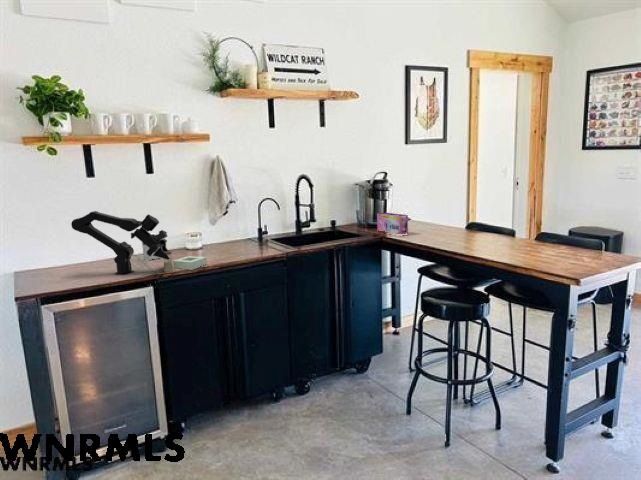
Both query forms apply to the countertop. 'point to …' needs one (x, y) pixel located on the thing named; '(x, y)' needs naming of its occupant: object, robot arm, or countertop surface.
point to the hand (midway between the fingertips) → (170, 258)
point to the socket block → (189, 262)
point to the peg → (168, 262)
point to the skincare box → (147, 250)
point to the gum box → (392, 223)
